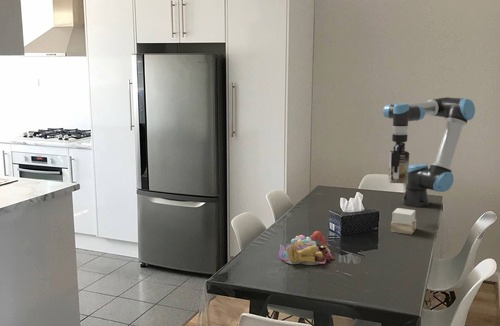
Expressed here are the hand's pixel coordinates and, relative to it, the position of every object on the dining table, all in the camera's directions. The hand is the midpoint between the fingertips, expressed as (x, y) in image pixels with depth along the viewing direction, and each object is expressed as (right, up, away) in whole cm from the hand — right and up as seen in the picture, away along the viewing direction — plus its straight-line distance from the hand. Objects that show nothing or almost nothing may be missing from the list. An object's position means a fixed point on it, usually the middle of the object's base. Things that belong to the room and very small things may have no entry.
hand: (398, 176), depth 276 cm
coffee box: (0, -3, +1) cm, 3 cm away
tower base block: (-1, -26, -14) cm, 30 cm away
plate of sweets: (-53, -34, -46) cm, 78 cm away
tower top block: (-1, -22, -15) cm, 26 cm away
